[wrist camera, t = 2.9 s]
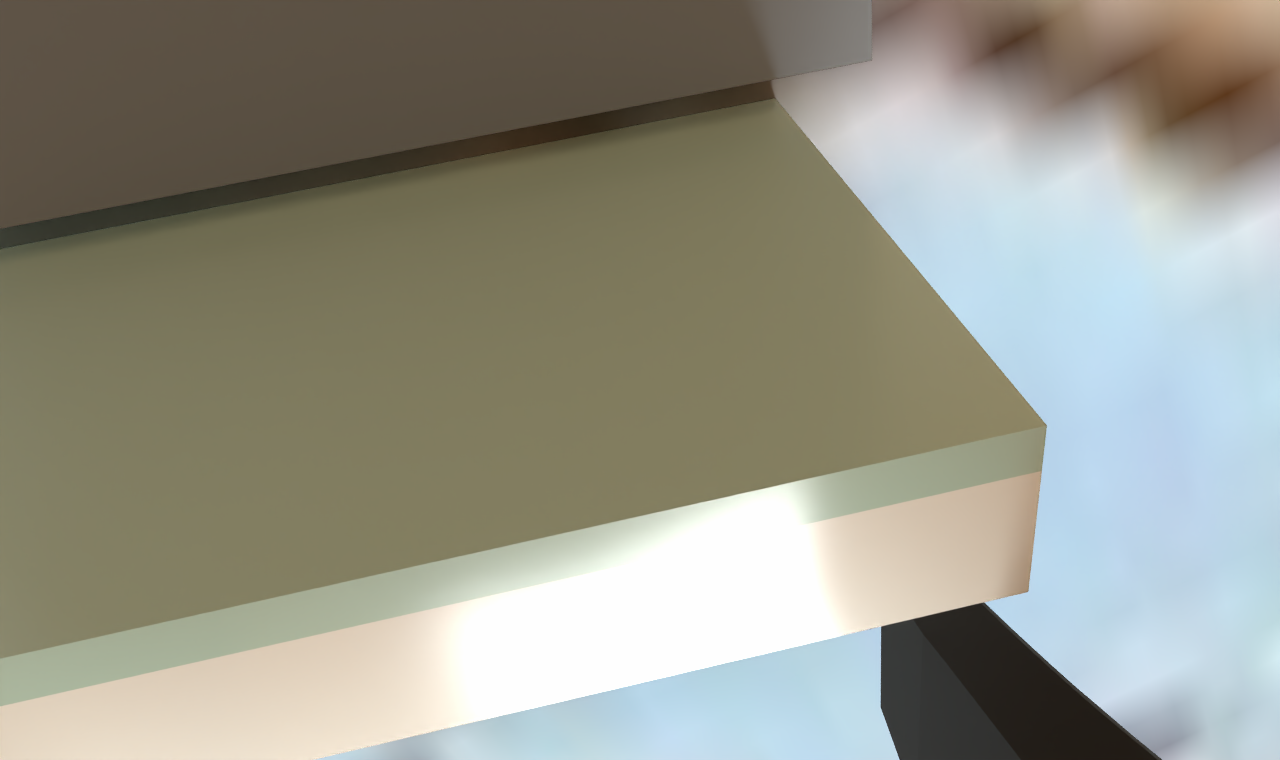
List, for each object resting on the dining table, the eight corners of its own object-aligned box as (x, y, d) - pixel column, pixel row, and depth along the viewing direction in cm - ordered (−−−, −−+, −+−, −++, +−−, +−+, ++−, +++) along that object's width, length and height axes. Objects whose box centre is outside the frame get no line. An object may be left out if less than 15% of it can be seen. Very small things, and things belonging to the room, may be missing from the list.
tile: (43, 369, 13) (-207, 882, 8) (-22, 251, 12) (-360, 737, 7) (781, 220, 14) (1028, 590, 8) (774, 97, 13) (1047, 424, 7)
